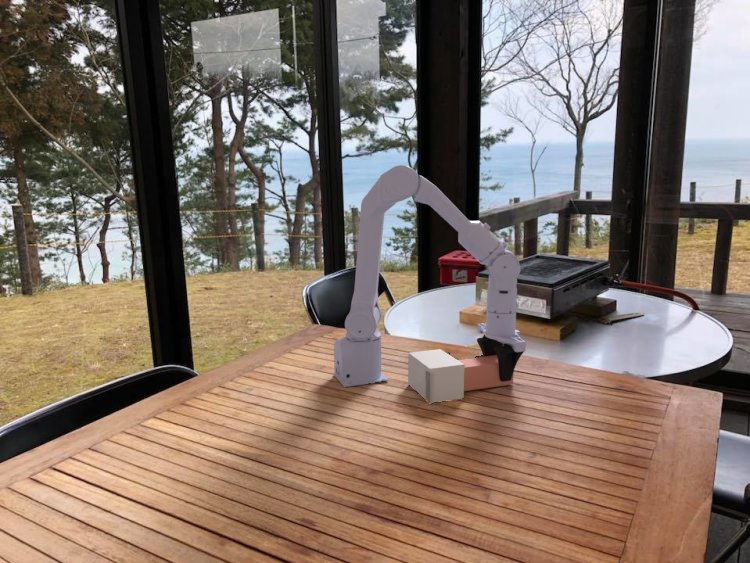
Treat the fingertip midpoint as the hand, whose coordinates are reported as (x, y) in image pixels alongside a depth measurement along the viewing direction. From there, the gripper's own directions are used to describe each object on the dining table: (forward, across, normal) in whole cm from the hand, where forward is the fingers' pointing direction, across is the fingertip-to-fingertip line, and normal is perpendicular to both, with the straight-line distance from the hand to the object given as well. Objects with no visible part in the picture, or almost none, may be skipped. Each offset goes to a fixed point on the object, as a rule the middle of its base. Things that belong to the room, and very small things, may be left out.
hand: (498, 376), depth 111 cm
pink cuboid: (+1, 0, +4) cm, 4 cm away
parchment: (+2, +20, -5) cm, 21 cm away
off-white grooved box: (+1, 0, +14) cm, 14 cm away
